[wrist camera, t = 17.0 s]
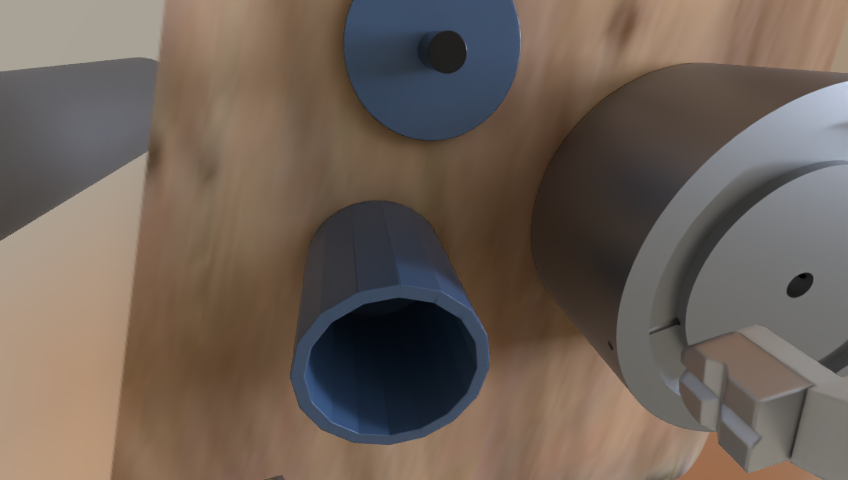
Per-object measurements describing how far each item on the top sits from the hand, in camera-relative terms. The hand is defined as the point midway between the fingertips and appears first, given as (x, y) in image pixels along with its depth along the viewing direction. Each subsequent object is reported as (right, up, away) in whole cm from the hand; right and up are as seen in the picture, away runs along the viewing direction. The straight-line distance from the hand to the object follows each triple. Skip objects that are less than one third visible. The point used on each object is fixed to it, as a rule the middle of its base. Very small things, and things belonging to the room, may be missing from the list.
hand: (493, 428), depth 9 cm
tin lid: (-1, +17, +22) cm, 28 cm away
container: (+20, +6, +32) cm, 38 cm away
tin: (-5, +2, +29) cm, 29 cm away
